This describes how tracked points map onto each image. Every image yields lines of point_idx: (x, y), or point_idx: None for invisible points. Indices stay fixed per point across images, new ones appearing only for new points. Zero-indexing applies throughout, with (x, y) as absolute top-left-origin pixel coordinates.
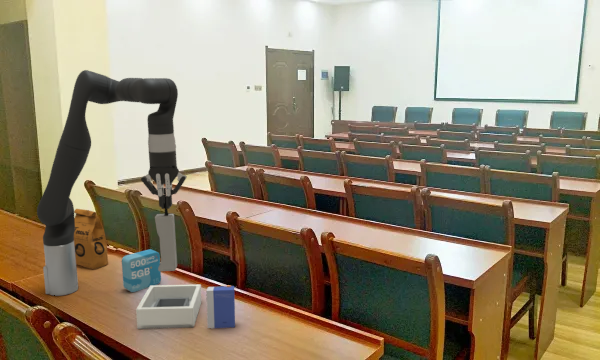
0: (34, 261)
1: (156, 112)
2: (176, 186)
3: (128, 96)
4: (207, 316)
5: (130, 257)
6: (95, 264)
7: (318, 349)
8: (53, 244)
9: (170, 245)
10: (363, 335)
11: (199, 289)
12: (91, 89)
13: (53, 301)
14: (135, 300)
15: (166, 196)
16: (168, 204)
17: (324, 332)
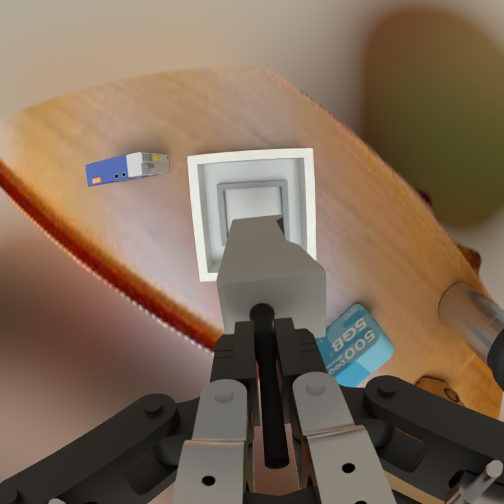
0: (483, 381)
1: None
2: (112, 453)
3: None
4: (161, 154)
5: (379, 349)
6: (424, 382)
7: (22, 121)
8: None
9: (240, 235)
10: None
11: (197, 257)
12: None
13: (460, 263)
14: (341, 271)
15: (250, 384)
16: (235, 335)
17: (14, 168)
